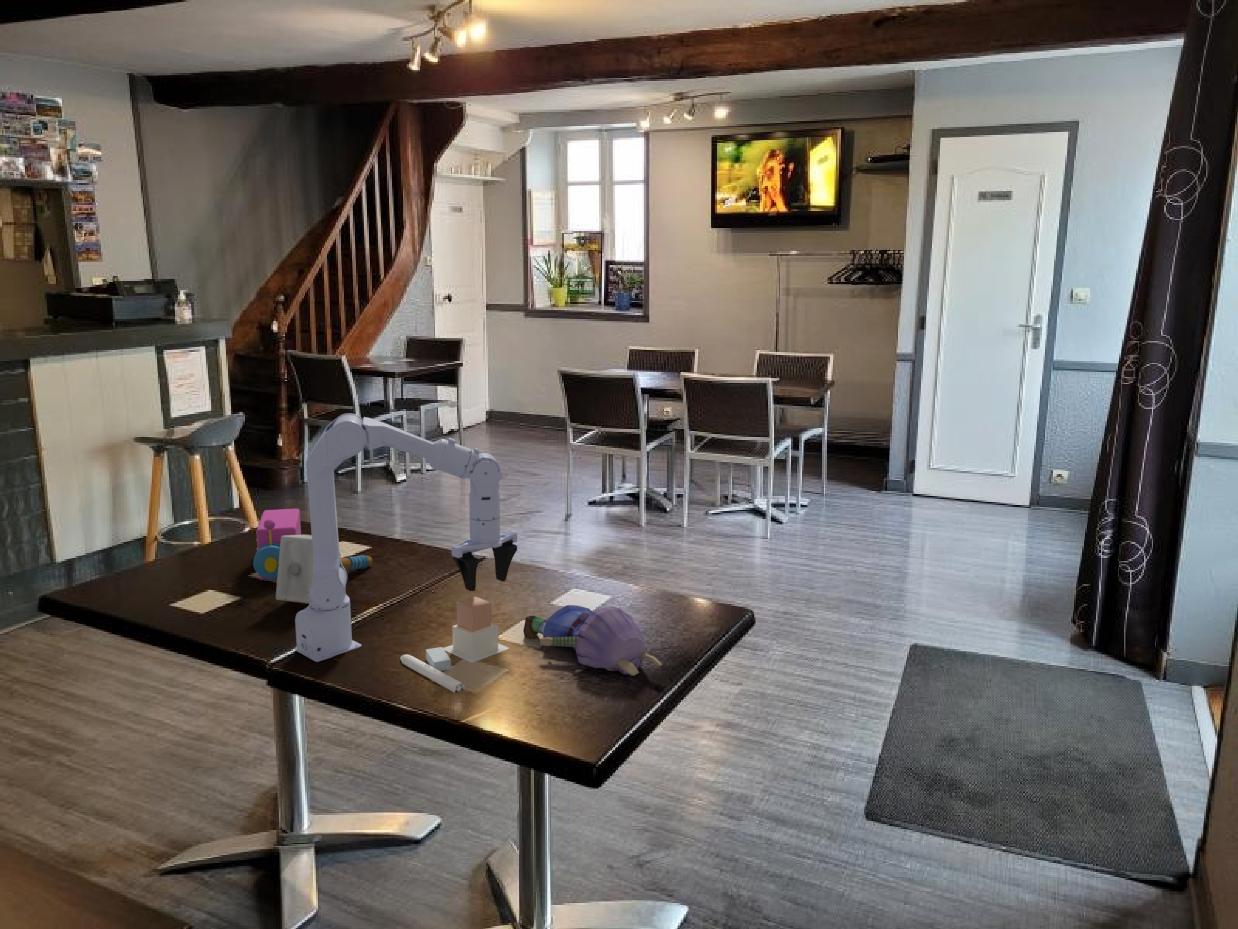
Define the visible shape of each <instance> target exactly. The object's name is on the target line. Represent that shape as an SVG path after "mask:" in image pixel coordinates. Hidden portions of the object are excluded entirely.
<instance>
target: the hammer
mask: <svg viewBox="0 0 1238 929" xmlns="http://www.w3.org/2000/svg"><path fill="white" fill-rule="evenodd" d="M341 563H342V565H343V567H344V568H345V570H346V572H348V571H349V572H350V571H352V570H364V569H366V568H368V567H371V566H372V565H373V558H372V556H370V555H365V554H361V555H356V556H343V557H341ZM312 580H313V545H312V534H301V535H286V536H281V542H280V554H279V565H278V577H277V580H276V591H275V599H276V601H284V602H293V603H302V604H309V601H310V597H309V589H310V587H311V584H312Z"/></svg>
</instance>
